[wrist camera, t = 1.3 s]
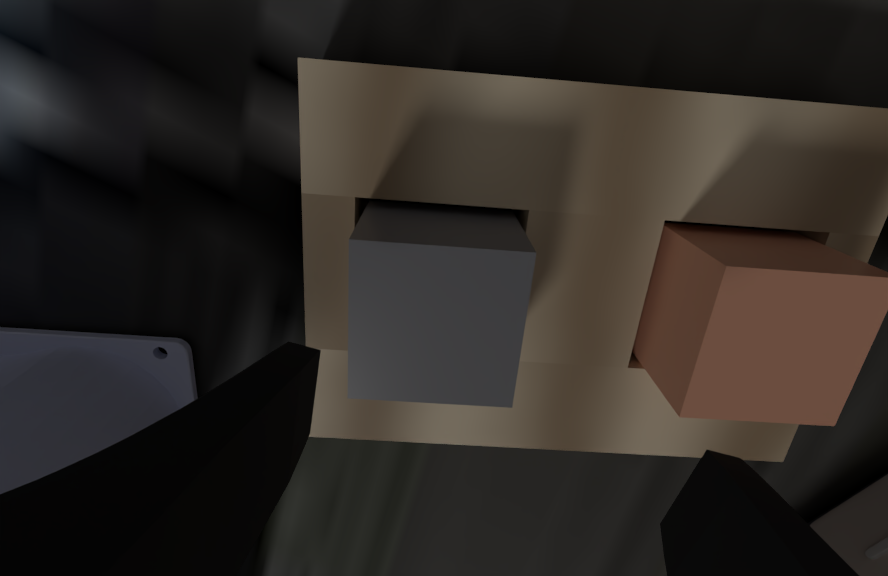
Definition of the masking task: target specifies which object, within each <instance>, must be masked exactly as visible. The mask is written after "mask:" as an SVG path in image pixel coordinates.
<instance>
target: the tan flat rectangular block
mask: <svg viewBox="0 0 888 576" xmlns="http://www.w3.org/2000/svg"><path fill="white" fill-rule="evenodd" d="M298 88H299V123H300V158H301V193H302V228H303V263H304V299H305V334H306V346H307V347H311V348H315V349H319V350H321V353H320V360H319V368H318V376H317V384H316V392H315V400H314V407H313V415H312V423H311V431H310V435H309V437H325V438H344V439H363V440H381V441H400V442H419V443H437V444H456V445H475V446H494V447H512V448H531V449H550V450H568V451H587V452H606V453H624V454H643V455H662V456H680V457H699V458H702V456H703V455H704V453H705V451H706V450H711V451H715V452H719V453H723V454H727V455H731V456H735V457H738V458H741V459H742V460H755V461H774V462H783V461H784V458H785V456H786V454H787V451H788V449H789V447H790V444H791V442H792V440H793V437H794V435H795V432H796V430H797V428H798V425H799V424H788V423H770V422H753V421H735V420H718V419H700V418H682V417H679V416H678V415H677V413H676V412H675V411H674V409H673V408H672V406H671V405H670V404H669V402H668V401H667V399H666V398H665V397H664V395H663V394H662V392H661V391H660V390H659V388H658V387H657V385H656V384H655V383H654V381H653V380H652V378H651V377H650V376H649V374H648V373H647V371H646V370H645V369H644V367H643V366H642V364H641V363H640V362H639V360H638V359H637V357H636V356H635V355H634V353H633V352H632V349H633V345H634V341H635V337H636V333H637V329H638V325H639V321H640V317H641V313H642V309H643V305H644V301H645V297H646V293H647V289H648V285H649V281H650V277H651V274H652V270H653V266H654V262H655V258H656V254H657V250H658V246H659V242H660V238H661V234H662V230H663V226H664V222H665V220H668V221H681V222H694V223H708V224H721V225H735V226H748V227H761V228H762V230H773V231H787V232H796V233H798V234H800V235H803V236H805V237H807V238H809V239H812V240H814V241H816V242H819V243H821V244H823V245H826V246H828V247H830V248H833V249H835V250H837V251H839V252H842V253H844V254H846V255H849V256H851V257H853V258H856V259H858V260H860V261H863V262H865V263H867V262H868V260H869V258H870V255H871V253H872V251H873V248H874V246H875V244H876V241H877V239H878V237H879V234H880V232H881V229H882V227H883V225H884V222H885V220H886V218H887V215H888V109H887V108H875V107H864V106H852V105H841V104H829V103H818V102H806V101H795V100H783V99H771V98H760V97H748V96H737V95H725V94H714V93H702V92H691V91H679V90H667V89H656V88H644V87H633V86H621V85H610V84H598V83H587V82H575V81H563V80H552V79H540V78H529V77H517V76H506V75H494V74H483V73H471V72H459V71H448V70H436V69H425V68H413V67H402V66H390V65H379V64H367V63H355V62H344V61H332V60H321V59H309V58H298ZM367 198H373V199H387V200H400V201H413V202H427V203H440V204H454V205H467V206H480V207H494V208H507V209H512V210H511V211H513V212H514V214H515V216H516V218H517V219H518V221H519V223H520V225H521V226H522V228H523V230H524V232H525V233H526V235H527V237H528V239H529V240H530V242H531V244H532V246H533V247H534V249H535V251H536V259H535V266H534V272H533V278H532V285H531V291H530V297H529V304H528V310H527V317H526V323H525V329H524V336H523V342H522V348H521V355H520V361H519V367H518V374H517V380H516V387H515V393H514V399H513V406H512V408H507V407H490V406H472V405H455V404H437V403H419V402H402V401H384V400H367V399H349V398H348V274H349V238H350V236H351V234H352V232H353V230H354V229H355V227H356V225H357V223H358V221H359V219H360V217H361V215H362V214H363V212H364V210H365V208H366V206H367Z"/></svg>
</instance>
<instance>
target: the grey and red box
mask: <svg viewBox="0 0 888 576" xmlns="http://www.w3.org/2000/svg"><path fill="white" fill-rule="evenodd" d="M808 524H809V526H810V527H811V528H812V529H813V530H814V531H815V532H816V533H817V534H818V535H819V536H820V537H821V538H822V539H823V540H824V541H825V542H826V543H827V544H828V545H829V546H830V547H831V548H832V549H833V550H834V551H835V552H836V553H837V554H838V555H839V556H840V557H841V558H842V559H843V560H844V561H845V562H846V563H847V564H848V565H849V566H850V567H851V568H852V569H853V570H854V571H855V572H856V573H857V574H858V575H859V576H888V472H887V473H885V474H884V475H882V476H880V477H879V478H877V479H876V480H874V481H873V482H871V483H870V484H868V485H866V486H865V487H863V488H862V489H860V490H859V491H857V492H855V493H854V494H852V495H851V496H849V497H848V498H846V499H845V500H843V501H841V502H840V503H838V504H837V505H835V506H834V507H832V508H830V509H829V510H827V511H826V512H824V513H823V514H821V515H819V516H818V517H816V518H815V519H813V520H812V521H810V522H809V523H808Z"/></svg>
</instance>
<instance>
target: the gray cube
mask: <svg viewBox="0 0 888 576" xmlns="http://www.w3.org/2000/svg"><path fill="white" fill-rule="evenodd" d="M535 259H536V251H535V249H534V247H533V246H532V244H531V242H530V240H529V239H528V237H527V235H526V233H525V232H524V230H523V228H522V226H521V225H520V223H519V221H518V219H517V218H516V216H515V214H514V212H513V211H505V210H492V209H478V208H465V207H451V206H438V205H425V204H411V203H398V202H384V201H371V200H369V202H368V204H367V206H366V208H365V210H364V212H363V214H362V215H361V217H360V219H359V221H358V223H357V225H356V227H355V229H354V230H353V232H352V234H351V236H350V238H349V274H348V398H349V399H367V400H384V401H402V402H419V403H437V404H455V405H472V406H490V407H507V408H512V406H513V399H514V393H515V387H516V380H517V374H518V367H519V361H520V355H521V348H522V342H523V336H524V329H525V323H526V317H527V310H528V304H529V297H530V291H531V285H532V278H533V272H534V266H535Z"/></svg>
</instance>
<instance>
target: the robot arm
mask: <svg viewBox="0 0 888 576" xmlns="http://www.w3.org/2000/svg"><path fill="white" fill-rule="evenodd" d="M158 347H161V348H164V349H165V350H166V351H167V354H164V353H162V352H161V351H160V350H159V348H158ZM320 353H321V350H319V349H315V348H311V347H307V346H303V345H299V344H296V343H292V342H287V343H286V344H284V345H282V346H280V347H279V348H277V349H276V350H274V351H272V352H271V353H269V354H268V355H266V356H265V357H263V358H262V359H260V360H259V361H257V362H255V363H254V364H252V365H251V366H249V367H248V368H246V369H245V370H243V371H241V372H240V373H238V374H237V375H235V376H234V377H232V378H230V379H229V380H227V381H226V382H224V383H222V384H221V385H219V386H217V387H216V388H214V389H212V390H211V391H209V392H207V393H206V394H204V395H202V396H201V397H199V398H198V396H197V388H196V380H195V373H194V365H193V357H192V350H191V347H190V345H189V344H188V343H187V342H186V341H184V340H183V339H179V338H170V337H154V336H138V335H121V334H105V333H89V332H72V331H56V330H40V329H24V328H7V327H0V576H236V574H237V573H238V571H239V569H240V567H241V566H242V564H243V562H244V560H245V559H246V557H247V555H248V553H249V552H250V550H251V548H252V546H253V545H254V543H255V541H256V540H257V538H258V536H259V534H260V533H261V531H262V529H263V527H264V526H265V524H266V522H267V520H268V519H269V517H270V515H271V513H272V512H273V510H274V508H275V506H276V505H277V503H278V501H279V499H280V498H281V496H282V494H283V492H284V490H285V489H286V487H287V485H288V483H289V481H290V479H291V477H292V474H293V472H294V470H295V467H296V465H297V463H298V461H299V458H300V456H301V454H302V451H303V449H304V447H305V444H306V442H307V439H308V437H309V435H310V431H311V423H312V415H313V407H314V400H315V392H316V384H317V376H318V368H319V360H320ZM660 526H661V534H662V542H663V550H664V558H665V564H666V570H667V576H859V575H858V574H857V573H856V572H855V571H854V570H853V569H852V568H851V567H850V566H849V565H848V564H847V563H846V562H845V561H844V560H843V559H842V558H841V557H840V556H839V555H838V554H837V553H836V552H835V551H834V550H833V549H832V548H831V547H830V546H829V545H828V544H827V543H826V542H825V541H824V540H823V539H822V538H821V537H820V536H819V535H818V534H817V533H816V532H815V531H814V530H813V529H812V528H811V527H810V526H809V524H808V523H807V522H806V521H805V520H804V519H803V518H802V517H801V516H800V515H799V514H798V513H797V512H796V511H795V510H794V509H793V508H792V507H791V506H790V505H789V504H788V503H787V502H786V501H785V500H784V499H783V498H782V497H781V496H780V495H779V494H778V493H777V492H776V491H775V490H774V489H773V488H772V487H771V486H770V485H769V484H768V483H767V482H766V481H765V480H764V479H763V478H762V477H760V476H759V475H758V474H757V473H756V472H755V471H754V470H753V469H752V468H751V467H750V466H749V465H747V464H746V463H745V462H744V461H743V460H742V459H741V458H738V457H735V456H731V455H727V454H723V453H719V452H715V451H711V450H706V451H705V453H704V455H703V456H702V458H701V459H700V461H699V463H698V464H697V466H696V467H695V469H694V471H693V472H692V474H691V475H690V477H689V479H688V480H687V482H686V483H685V485H684V487H683V488H682V490H681V491H680V493H679V495H678V496H677V498H676V499H675V501H674V503H673V504H672V506H671V507H670V509H669V511H668V512H667V514H666V515H665V517H664V519H663V520H662V522H661V523H660Z"/></svg>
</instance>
